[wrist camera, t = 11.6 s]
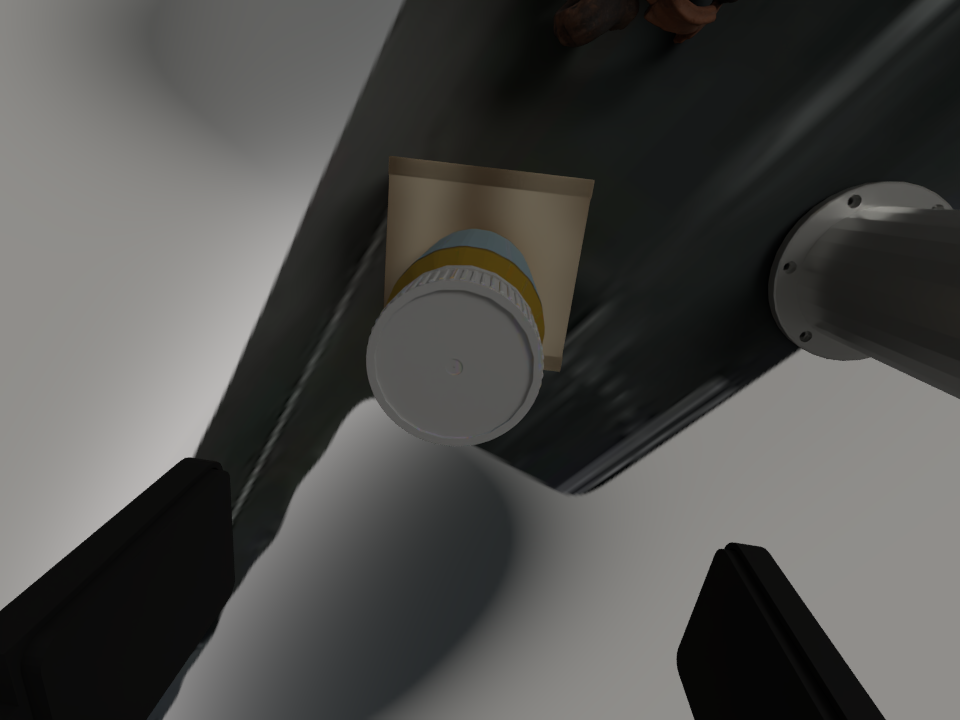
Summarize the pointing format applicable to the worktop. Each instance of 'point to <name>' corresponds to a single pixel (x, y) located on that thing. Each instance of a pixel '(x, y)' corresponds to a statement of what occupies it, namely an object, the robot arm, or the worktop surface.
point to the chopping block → (493, 226)
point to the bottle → (459, 341)
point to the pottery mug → (629, 18)
